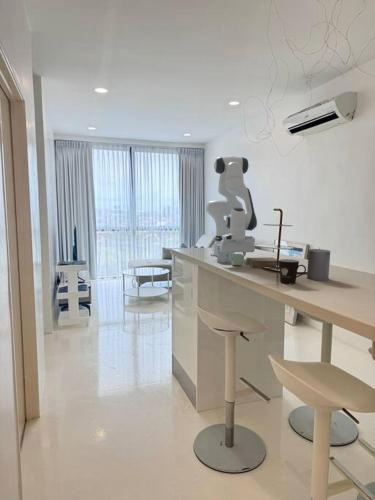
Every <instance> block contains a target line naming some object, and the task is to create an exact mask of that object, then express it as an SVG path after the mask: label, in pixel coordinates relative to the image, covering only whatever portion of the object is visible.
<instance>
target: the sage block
mask: <svg viewBox="0 0 375 500" xmlns="http://www.w3.org/2000/svg"><path fill="white" fill-rule="evenodd" d="M242 256H243V253H235V254H232V257H233V260H232V262H231V265H233V266H243V260H242Z"/></svg>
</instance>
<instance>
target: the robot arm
mask: <svg viewBox="0 0 375 500" xmlns="http://www.w3.org/2000/svg"><path fill="white" fill-rule="evenodd" d="M249 167H250V166H249V160H248V159H247V158H246V157H243V156H241V157H239V156H224V157H223V156H218V157H216V158H215V160H214V164H213V169H214V172H215V173H216V174H219V179H218V188H217V189H218V194H220V195H221V196H222V197H224V198H225V199H222V200H220V199H217V200H215V199H214V200H211V201H208V202H207V204H206V207H205V208H206V212H207V215H209V216H210V217H211V218H212V219H213V220H214V223H215V229H216V230H215V231H216V232H215V234H216V235H215V237H214V239H215V241H214V243H213V244H212V245H211V246H210V247H211V248H210V249H211V250H212V251H210V253H209V254H210V255H209V256H214V257H217V245H218V244H219V245H220V251H221V252H228V254H229V256H230V260H233V257H232V256H231V255H230V254H231V252H234V254H236V253H242V261H244V260H245V257H246V255H247V253H254V252H255V250H256V249H255V243H256V239H255V237H253V236H252V235H251V236H248V235H246V231H253V230H255V228H257V224H258V219H257V215H256V212H255V207H254V203H253V198H252V194H251V190H250V188H248V187H247V186H246V184H245V181H244V174H246V173H247V172H248V170H249ZM237 197H238V198H239V199H242V200H243V202H244V205H245V209H244V206H243V203H242V201H240V200H239V199H238V198H237Z"/></svg>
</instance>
